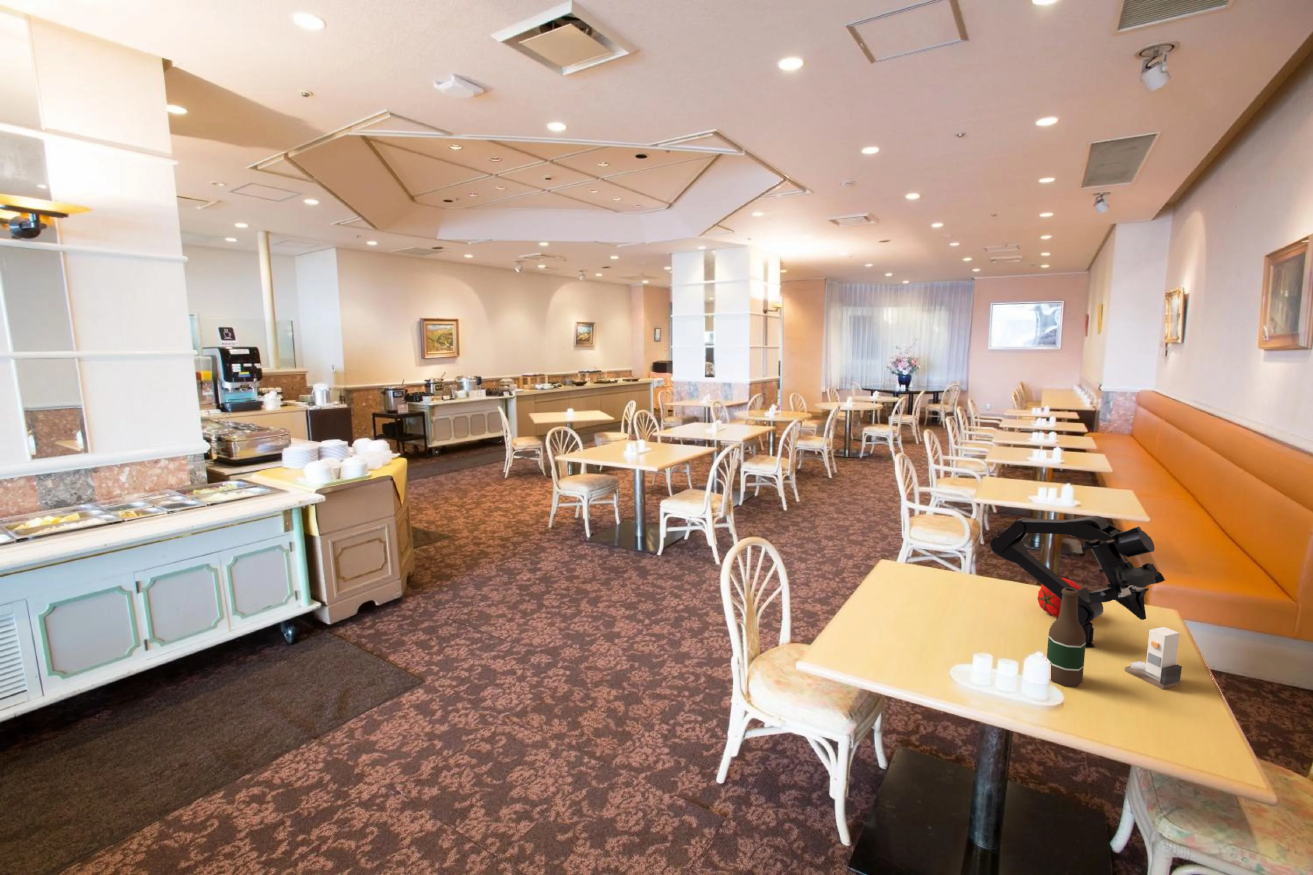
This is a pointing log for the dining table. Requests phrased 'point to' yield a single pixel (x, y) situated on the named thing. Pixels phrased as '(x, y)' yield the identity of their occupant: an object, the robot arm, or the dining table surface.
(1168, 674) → the rail board
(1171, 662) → the switch module
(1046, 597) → the tomato
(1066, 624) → the beer bottle
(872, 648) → the dining table surface
